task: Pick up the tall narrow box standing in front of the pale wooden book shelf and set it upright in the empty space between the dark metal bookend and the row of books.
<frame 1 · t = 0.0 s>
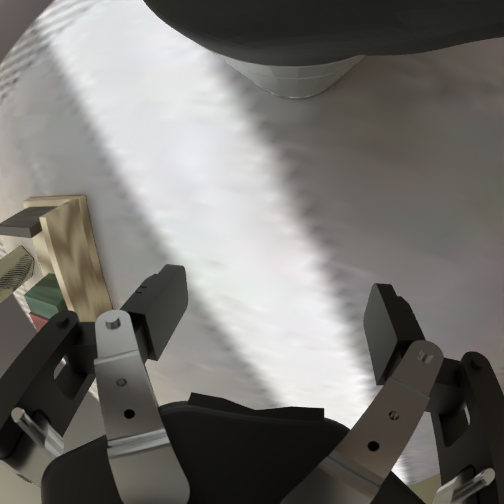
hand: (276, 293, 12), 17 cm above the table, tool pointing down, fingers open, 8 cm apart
shelf: (69, 263, 36), on the table
box: (27, 259, 38), on the table
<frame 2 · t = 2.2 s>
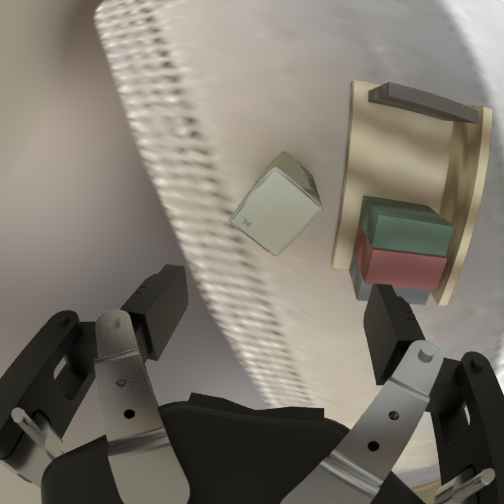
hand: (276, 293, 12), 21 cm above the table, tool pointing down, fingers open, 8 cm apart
shelf: (399, 184, 28), on the table
box: (284, 178, 30), on the table
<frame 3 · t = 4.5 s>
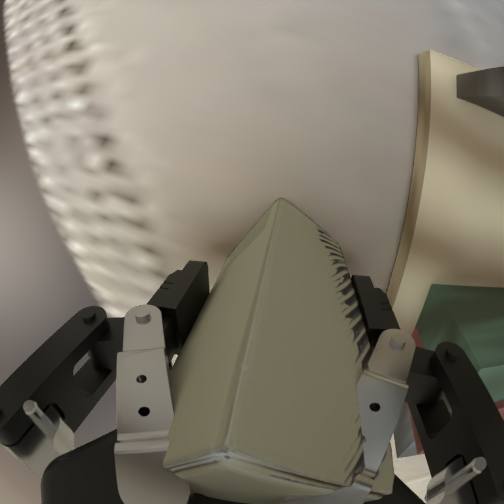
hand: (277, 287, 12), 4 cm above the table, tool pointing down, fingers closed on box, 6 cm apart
shelf: (482, 254, 13), on the table
box: (283, 249, 16), on the table, touching gripper
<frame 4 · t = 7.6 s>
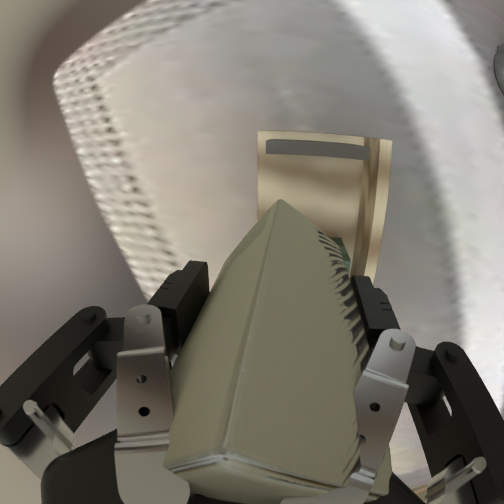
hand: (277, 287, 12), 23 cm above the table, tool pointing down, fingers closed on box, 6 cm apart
shelf: (312, 220, 34), on the table
box: (282, 249, 16), point 19 cm above the table, touching gripper
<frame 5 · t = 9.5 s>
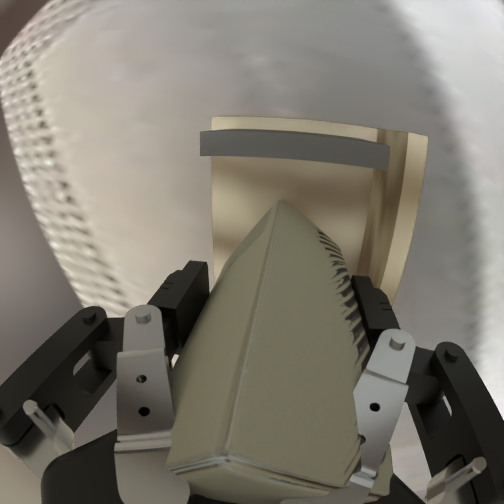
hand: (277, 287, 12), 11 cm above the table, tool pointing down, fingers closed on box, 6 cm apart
shelf: (294, 248, 24), on the table
box: (282, 250, 16), point 8 cm above the table, touching gripper
when the fingers open (6 cm above the table, at t = 11.1 s): box stays where it is, resting on shelf.
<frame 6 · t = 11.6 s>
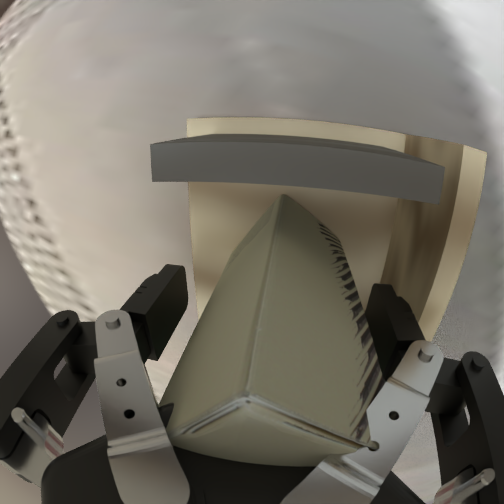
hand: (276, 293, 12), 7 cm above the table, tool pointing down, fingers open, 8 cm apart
shelf: (295, 284, 19), on the table
box: (285, 242, 16), point 1 cm above the table, touching shelf
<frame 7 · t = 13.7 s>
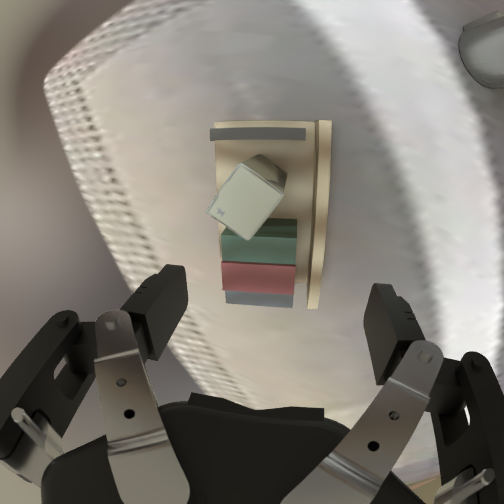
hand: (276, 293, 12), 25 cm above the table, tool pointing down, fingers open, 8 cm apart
shelf: (270, 203, 36), on the table
box: (262, 177, 33), point 1 cm above the table, touching shelf
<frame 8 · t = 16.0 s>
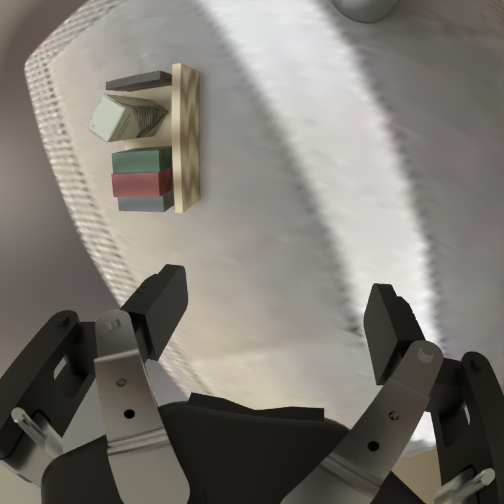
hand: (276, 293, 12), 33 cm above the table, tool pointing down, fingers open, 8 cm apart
shelf: (161, 137, 42), on the table
box: (152, 116, 39), point 1 cm above the table, touching shelf
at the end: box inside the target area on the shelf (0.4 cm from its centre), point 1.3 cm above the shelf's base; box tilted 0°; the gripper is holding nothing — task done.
